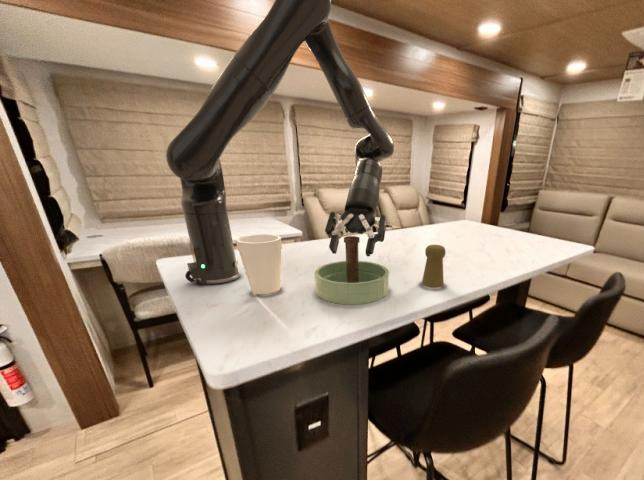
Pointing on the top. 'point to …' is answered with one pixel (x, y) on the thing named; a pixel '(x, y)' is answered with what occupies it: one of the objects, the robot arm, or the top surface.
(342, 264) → the bowl
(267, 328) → the top surface
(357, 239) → the rod
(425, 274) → the cork
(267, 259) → the foam cup
